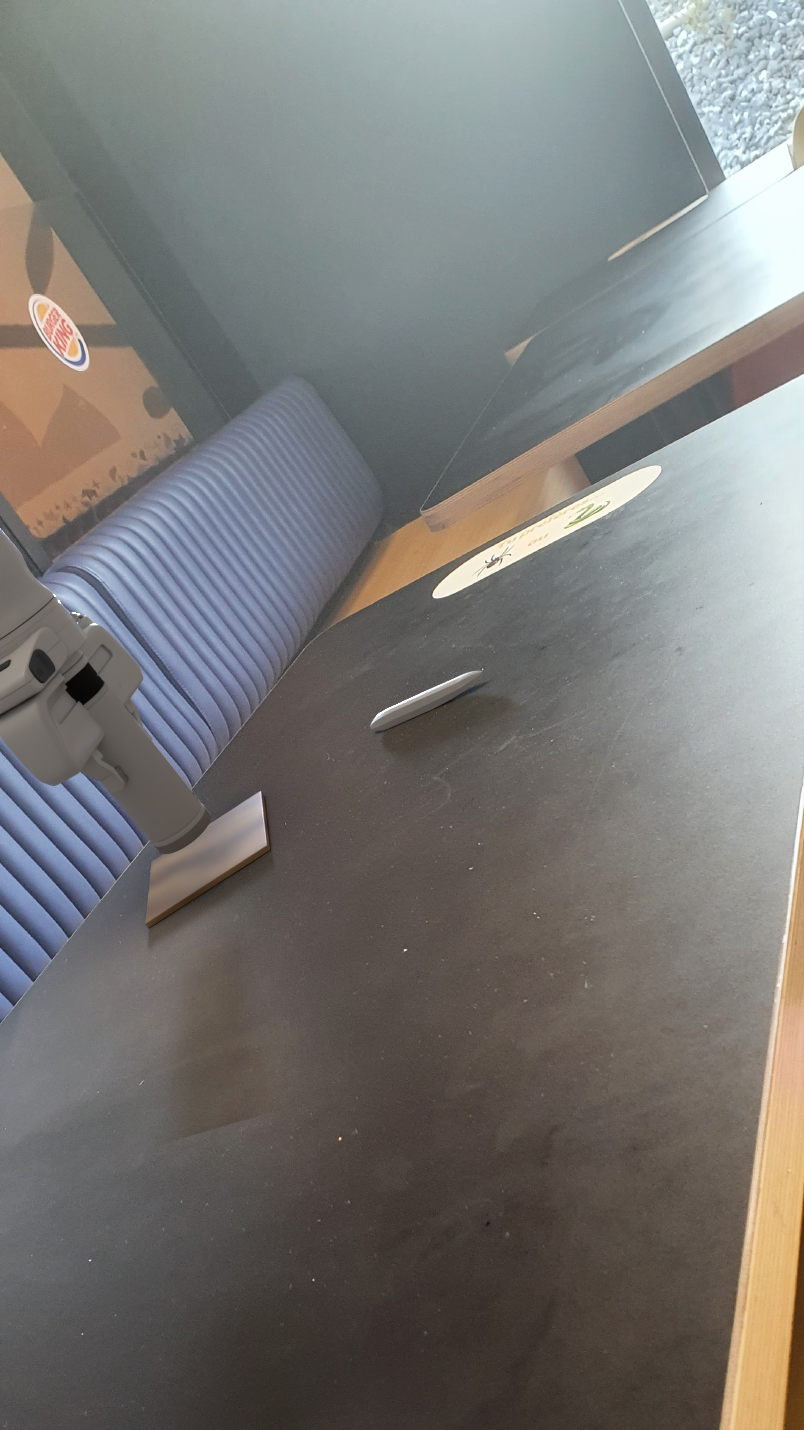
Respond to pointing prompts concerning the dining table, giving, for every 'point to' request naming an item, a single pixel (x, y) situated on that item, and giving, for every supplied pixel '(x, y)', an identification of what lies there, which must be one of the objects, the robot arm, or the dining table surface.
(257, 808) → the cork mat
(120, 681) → the robot arm
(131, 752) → the travel mug
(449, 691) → the pen
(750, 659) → the dining table surface
